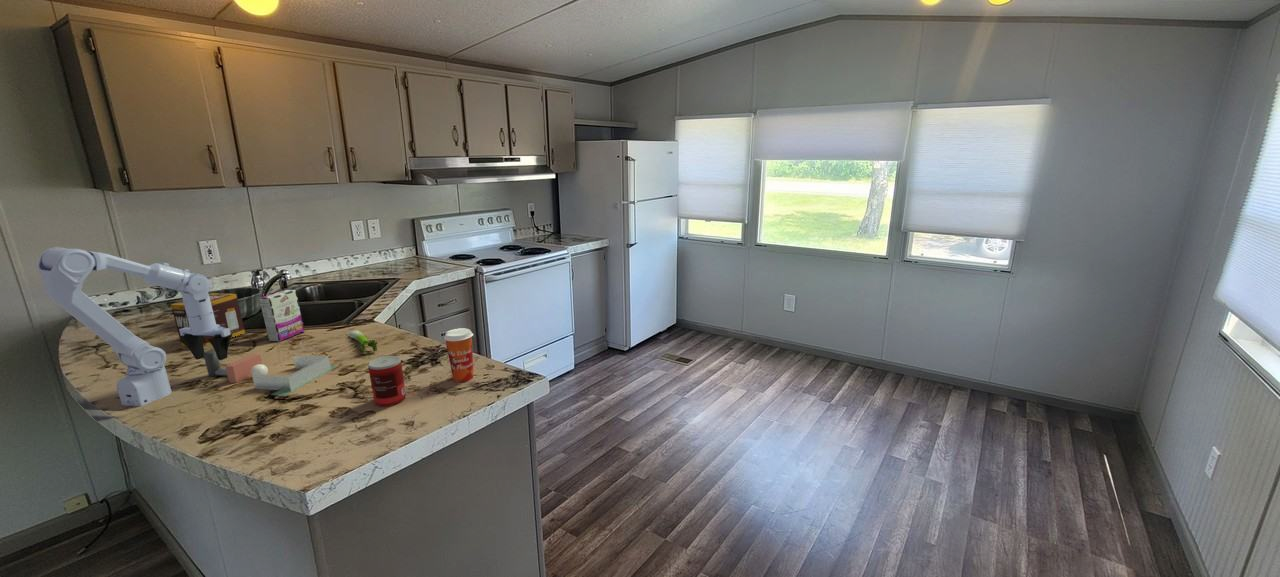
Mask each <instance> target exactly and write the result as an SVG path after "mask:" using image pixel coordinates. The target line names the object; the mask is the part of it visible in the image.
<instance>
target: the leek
mask: <svg viewBox="0 0 1280 577" xmlns="http://www.w3.org/2000/svg"><path fill="white" fill-rule="evenodd" d="M347 336H348V337H349V336H350V337H349V338H351V339H353V338H354V339H353V340H356V341H357V342H359V343H360V345H361V347H360V349H361V351H360V353H359V354H360V355H361V353H362V352H363V354H365V350H366V346H365V345H367V346H368V347H369V348H372V351H373V352H377V351H378V347H377V344H379V343H377V342H378V341H377V340H374V339H371V340H368V339H367V337H366V336H365V335H364V334H363V333H362V332H361V331H359V330H355V329H354V330H352V331H351V330H350V332H348V335H347Z"/></svg>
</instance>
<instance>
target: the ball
mask: <svg viewBox="0 0 1280 577" xmlns="http://www.w3.org/2000/svg"><path fill="white" fill-rule="evenodd" d="M268 373H269V368H268V367H267V366H266V365H265V364H263V363H262V364H258V365H255V366H254V367H253V368H252V369H251V375H252V376H254V375H268ZM252 376H251V377H252Z"/></svg>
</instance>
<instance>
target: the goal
mask: <svg viewBox="0 0 1280 577" xmlns="http://www.w3.org/2000/svg"><path fill="white" fill-rule="evenodd" d="M292 359H293V364H294V368H295V369H298V370H297V371H294V372H293V373H291V374H289V375H271V374H270V375H269V374H267V375H254V376H251V377H252V381H253V385H254V390H270V391H273V390H275V391H293V390H294V389H296V388H298V387H300V386H301V385H303V384H305V383H307V382H309V381H310V380H312V379H314V378H316V377H318V376H319V375H321V374H323V373H325V372H327V371H328V370H330V369H331V367H330V366H331V363H330V358H329V356H318V355H316V356H315V355H294V356H292ZM330 371H331V370H330ZM328 372H329V371H328ZM328 372H327V373H328ZM325 374H326V373H325ZM323 375H324V374H323ZM321 376H322V375H321ZM318 378H319V377H318ZM316 379H317V378H316ZM314 380H315V379H314ZM312 381H313V380H312ZM309 383H310V382H309ZM307 384H308V383H307ZM305 385H306V384H305ZM300 388H301V387H300ZM298 389H299V388H298ZM296 390H297V389H296ZM293 392H294V391H293Z"/></svg>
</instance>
